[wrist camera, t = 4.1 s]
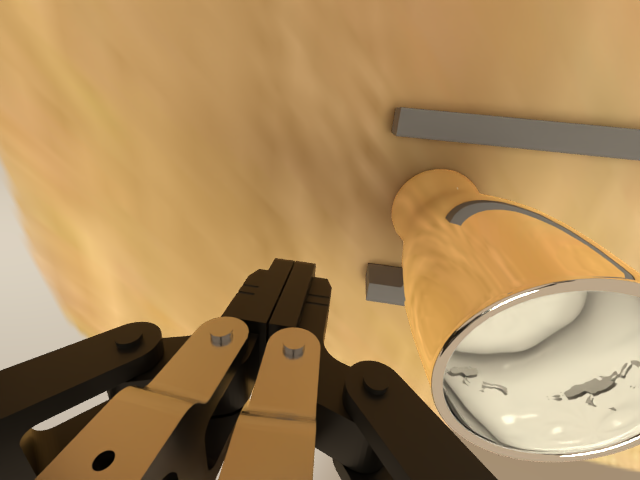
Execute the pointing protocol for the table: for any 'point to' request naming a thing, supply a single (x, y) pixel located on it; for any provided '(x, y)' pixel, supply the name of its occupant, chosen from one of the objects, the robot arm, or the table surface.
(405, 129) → the u rest
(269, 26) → the table surface
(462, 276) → the beer glass
